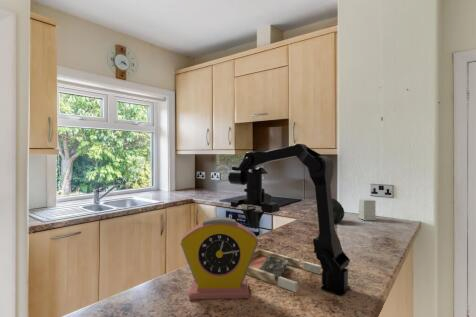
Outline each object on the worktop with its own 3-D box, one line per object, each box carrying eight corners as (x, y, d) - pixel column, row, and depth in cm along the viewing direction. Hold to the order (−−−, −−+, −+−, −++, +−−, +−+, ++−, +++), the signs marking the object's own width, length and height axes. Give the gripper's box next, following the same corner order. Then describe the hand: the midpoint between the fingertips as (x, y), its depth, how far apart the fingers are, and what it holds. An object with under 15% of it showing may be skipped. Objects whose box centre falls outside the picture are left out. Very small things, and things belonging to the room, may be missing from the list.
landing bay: (321, 273, 94) (321, 265, 94) (295, 292, 80) (295, 283, 80) (304, 268, 98) (304, 261, 98) (277, 285, 84) (278, 277, 84)
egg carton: (269, 264, 102) (269, 253, 102) (289, 268, 99) (289, 256, 99) (258, 274, 93) (258, 262, 93) (279, 279, 89) (279, 267, 89)
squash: (324, 208, 180) (319, 192, 171) (348, 212, 171) (344, 196, 163) (318, 226, 171) (312, 210, 163) (342, 231, 163) (338, 215, 154)
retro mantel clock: (179, 300, 76) (179, 222, 75) (183, 284, 85) (183, 215, 85) (258, 298, 77) (259, 221, 77) (255, 283, 86) (255, 214, 86)
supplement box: (375, 221, 168) (376, 200, 168) (363, 221, 168) (363, 200, 168) (370, 218, 176) (370, 198, 175) (358, 218, 176) (358, 198, 176)
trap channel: (299, 266, 99) (299, 259, 99) (272, 283, 86) (272, 275, 86) (258, 254, 111) (258, 248, 111) (229, 267, 98) (229, 260, 98)
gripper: (287, 186, 101) (287, 228, 101) (248, 182, 113) (248, 220, 114) (270, 188, 93) (270, 235, 93) (229, 184, 105) (229, 225, 105)
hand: (254, 228), depth 101 cm, fingers closed
